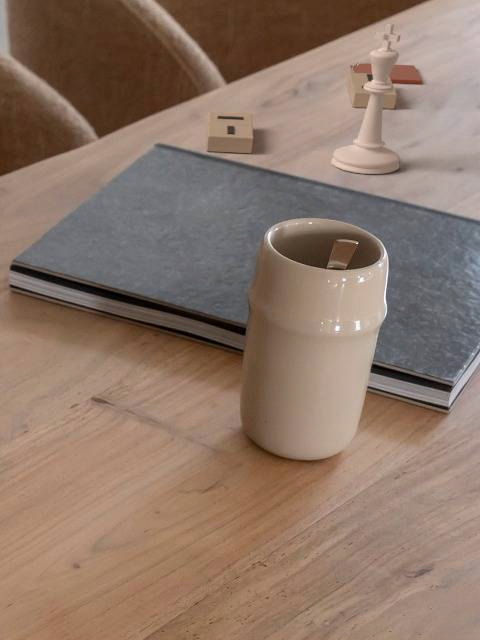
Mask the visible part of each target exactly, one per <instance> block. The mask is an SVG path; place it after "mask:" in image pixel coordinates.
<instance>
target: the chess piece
mask: <svg viewBox="0 0 480 640" xmlns="http://www.w3.org/2000/svg"><path fill="white" fill-rule="evenodd" d="M394 28H395V24H394V23H386V24H385V26H384V31H380V30H379V31H376V32H375V36H374V39H375V40H380V41H382V42H381V43H382V44H381V47H379V48H376V49H375V48H374V49H373V50H371V51H370V53H369V60H370V64H371V66H372V75H373V80H371V81H372V82H367V83H365V86H364V87H363V89H364V90H366V91H369V92H371V95H370V99H369V102H368V106H367V108H366V110H365V113H364V116H363V120H362V123H361V126H360V130H359V133H358V136H357V137H356V138H354V139H353V140H352V143H353V144H348V145H343V146H341V147H337V148H336V149H335V150H334V151H333V153H332V155H333V157H332V158H331V160H330V163H331V164H332V166H334V167H335V168H337V169H339V170H342V171H346V172H349V173H354V174H355V173H356V174H362V175H383V174H384V175H385V174H390V173H394V172H396V171H398V169H400V163H399V162H400V159H401V158H400V155H399V154H398V153H397V152H396V151H394V150H392V149H390V148H388V147H385V146H386V142H385V141H383V140H382V132H383V131H382V128H383V114H384V112H383V111H384V109H383V102H384V93H389V92H392V91H393V90H394V89H395V87H394V88H393V86H394V84H393V83H392V84H393V85H392V84H390V83H388V81H387V79H388V77H389V75H390V74H391V71H392V69H393V67H394V65H396V64H397V61H398V60H399V57H400V54H399V52H398V51H396V50H394V49H392V48H391V45H392V43H399V42H400V41H401V37H402V36H401V34H399V33H394Z"/></svg>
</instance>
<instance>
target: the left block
mask: <svg viewBox="0 0 480 640" xmlns="http://www.w3.org/2000/svg"><path fill="white" fill-rule="evenodd" d="M253 145H254V128H253V115H252V114H251V113H239V112H237V113H236V112H218V111H217V112H215V111H209V112H208V113H207V123H206V152H215V153H231V154H232V153H233V154H252V153H253Z"/></svg>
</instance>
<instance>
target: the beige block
mask: <svg viewBox="0 0 480 640" xmlns="http://www.w3.org/2000/svg"><path fill="white" fill-rule="evenodd" d="M371 80H373V75H372V74H368V73H353V72H349V73H348V76H347V83H346V88H347V91H348V95H349V99H350V103H351V106H352V108H361V109H362V108H363V109H367V106H368V102H369V99H370V95H371V92H369V91H366V90H364V89H363V87H364V86H365V83H367V82H372V81H371ZM387 81H388V83H390V84H392V85H393V88H394V90H393V91H392V92H389V93H384V102H383V110H384V109H388V110H394V109H395V107H396V104H397V103H396V102H397V99H398V98H397V97H398V94H397V92H396V89H395V87H394V83H392V81H391V79H390V76H389V77H388V79H387Z"/></svg>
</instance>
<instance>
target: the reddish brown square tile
mask: <svg viewBox="0 0 480 640" xmlns="http://www.w3.org/2000/svg"><path fill="white" fill-rule="evenodd" d="M356 63H357V64H358V63H359V62H356ZM360 63H361V64H359V65H358V66H357V64H356V65H354V66H352V67H353V71H354V73H368V74H372V66H371V63H365V62H360ZM362 63H364V64H362ZM389 76H390V79H391V81H392V84H412V85H421V84H422V79H421V77H420V75H419V72H418V71H417V68H416V66H415V65H413V64H395V65H394V67H393V69H392V71H391V74H390V75H389Z"/></svg>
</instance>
